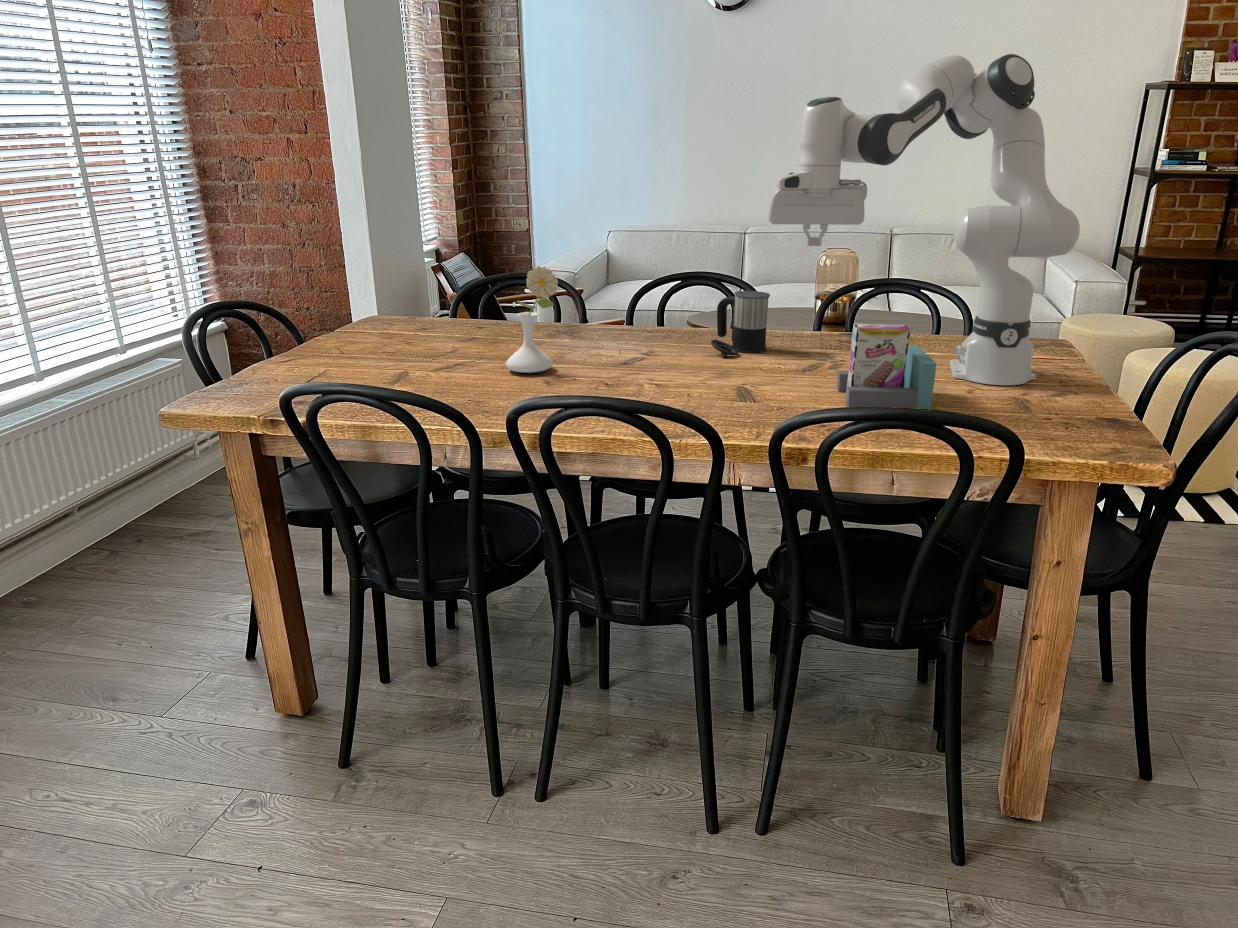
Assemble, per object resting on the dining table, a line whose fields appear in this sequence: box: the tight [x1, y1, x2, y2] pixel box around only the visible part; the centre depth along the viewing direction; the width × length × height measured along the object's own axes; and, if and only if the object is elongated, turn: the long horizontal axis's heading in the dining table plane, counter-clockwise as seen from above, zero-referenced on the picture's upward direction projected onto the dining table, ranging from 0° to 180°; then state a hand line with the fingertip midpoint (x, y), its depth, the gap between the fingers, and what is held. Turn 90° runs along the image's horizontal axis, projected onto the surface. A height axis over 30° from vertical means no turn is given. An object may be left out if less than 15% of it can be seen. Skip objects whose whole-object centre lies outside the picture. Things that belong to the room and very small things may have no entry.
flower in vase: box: [505, 265, 559, 374], centre depth 218 cm, size 13×11×25 cm
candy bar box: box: [845, 323, 911, 397], centre depth 195 cm, size 11×5×16 cm, turn 87°
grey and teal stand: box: [836, 345, 937, 410], centre depth 197 cm, size 16×17×10 cm
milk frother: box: [710, 290, 771, 357], centre depth 238 cm, size 14×16×15 cm
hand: (813, 245), depth 200 cm, fingers closed
